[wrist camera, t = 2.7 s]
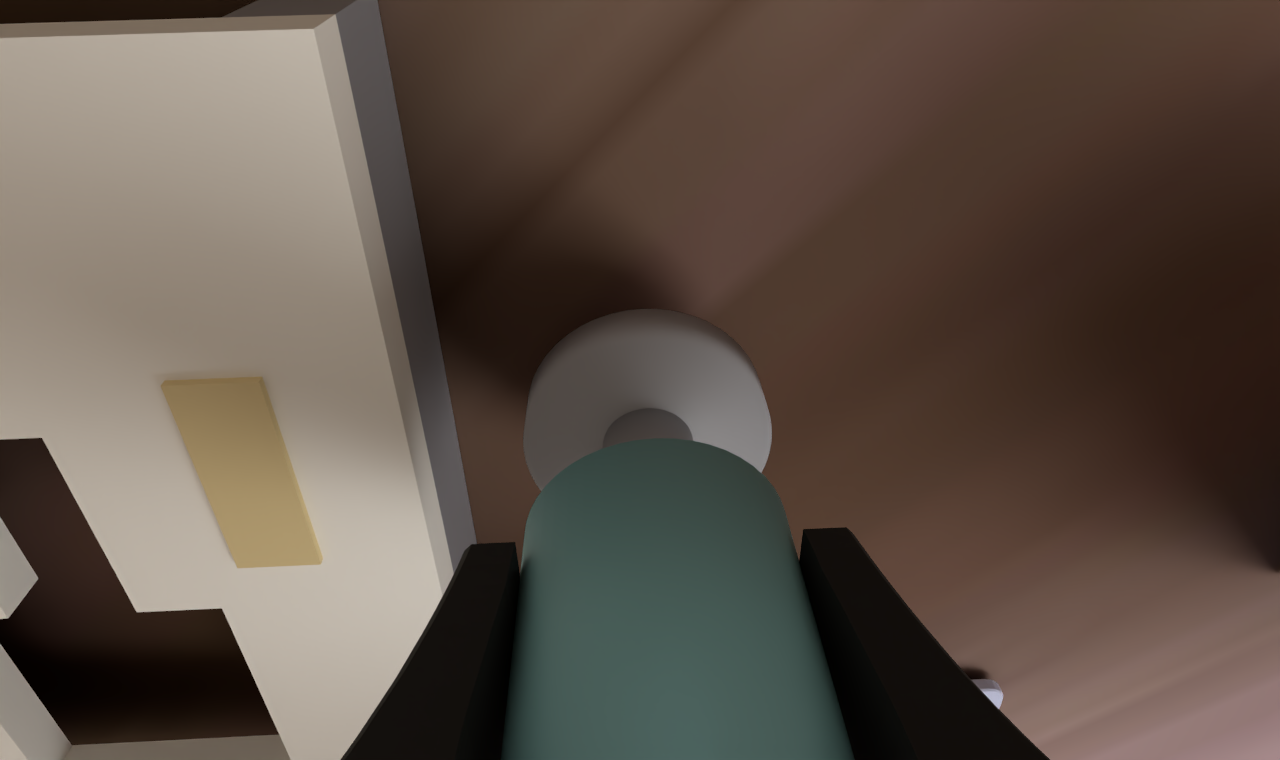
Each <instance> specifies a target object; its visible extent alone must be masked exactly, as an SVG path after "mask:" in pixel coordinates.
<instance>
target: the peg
mask: <svg viewBox="0 0 1280 760" xmlns="http://www.w3.org/2000/svg"><path fill="white" fill-rule="evenodd" d="M771 440H772V426H771V420H770V414H769V411H768V407H767V404H766V401H765V397H764V394H763V391H762V387H761V384H760V381H759V378H758V375H757V372H756V369H755V368H754V366H753V364H752V362H751V360H750V358H749V357H748V355H747V354H746V353H745V351H744V350H743V349H742V347H741V346H740V345H739V344H738V343H737V342H736V341H735V340H734V339H733V338H732V337H730V336H729V335H728V334H726V333H725V332H724V331H722V330H721V329H720V328H718V327H716V326H714V325H712V324H711V323H709V322H707V321H705V320H702V319H700V318H697V317H695V316H692V315H689V314H685V313H681V312H677V311H670V310H663V309H635V310H626V311H621V312H617V313H612V314H609V315H606V316H603V317H600V318H597V319H594V320H592V321H590V322H588V323H586V324H584V325H582V326H580V327H578V328H577V329H575V330H574V331H572V332H571V333H569V334H568V335H566V336H565V337H564V338H563V339H562V340H560V341H559V342H558V343H557V344H556V345H555V346H554V347H553V348H552V349H551V350H550V352H549V353H548V354H547V355H546V356H545V358H544V359H543V361H542V362H541V364H540V365H539V367H538V369H537V371H536V373H535V375H534V377H533V380H532V383H531V386H530V390H529V395H528V403H527V411H526V419H525V427H524V435H523V444H524V454H525V459H526V463H527V466H528V468H529V471H530V474H531V476H532V478H533V479H534V481H535V483H536V484H537V486H538V488H539V489H540V490H541V493H540V494H539V496H538V497H537V498H536V500H535V502H534V504H533V506H532V508H531V510H530V513H529V516H528V519H527V522H526V528H525V535H524V544H523V554H522V563H521V572H520V583H519V592H518V602H517V611H516V620H515V630H514V639H513V648H512V657H511V667H510V676H509V686H508V695H507V705H506V714H505V723H504V733H503V742H502V752H501V760H855V759H854V755H853V752H852V748H851V744H850V741H849V737H848V734H847V730H846V727H845V723H844V720H843V716H842V712H841V709H840V705H839V702H838V698H837V695H836V691H835V688H834V684H833V680H832V677H831V673H830V670H829V666H828V663H827V659H826V656H825V652H824V648H823V645H822V641H821V638H820V634H819V631H818V627H817V624H816V620H815V617H814V613H813V609H812V606H811V602H810V599H809V595H808V592H807V588H806V585H805V581H804V577H803V574H802V570H801V567H800V563H799V560H798V556H797V553H796V549H795V545H794V542H793V538H792V535H791V531H790V528H789V524H788V521H787V517H786V513H785V510H784V507H783V505H782V502H781V499H780V497H779V495H778V494H777V492H776V490H775V488H774V487H773V486H772V484H771V483H770V482H769V481H768V480H767V478H766V477H765V476H764V475H763V474H762V473H761V472H762V470H763V468H764V466H765V464H766V461H767V458H768V455H769V452H770V446H771Z"/></svg>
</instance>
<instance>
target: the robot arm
mask: <svg viewBox="0 0 1280 760" xmlns="http://www.w3.org/2000/svg"><path fill="white" fill-rule="evenodd" d="M799 563H800V567H801V570H802V574H803V577H804V581H805V585H806V588H807V592H808V595H809V599H810V602H811V606H812V609H813V613H814V617H815V620H816V624H817V627H818V631H819V634H820V638H821V641H822V645H823V648H824V652H825V656H826V659H827V663H828V666H829V670H830V673H831V677H832V680H833V684H834V688H835V691H836V695H837V698H838V702H839V705H840V709H841V712H842V716H843V720H844V723H845V727H846V730H847V734H848V737H849V741H850V744H851V748H852V752H853V755H854V759H855V760H1050V759H1049V758H1048V757H1047V756H1046V755H1044V754H1043V753H1042V752H1041V751H1040V750H1039V749H1038V748H1037V747H1036V746H1035V745H1034V744H1033V743H1032V742H1031V741H1030V740H1029V739H1028V738H1027V737H1026V736H1025V735H1024V734H1023V733H1022V732H1021V731H1020V730H1019V729H1018V728H1017V727H1016V726H1015V725H1014V724H1013V723H1012V722H1011V721H1010V720H1009V719H1008V718H1007V717H1006V716H1005V715H1004V714H1003V713H1002V712H1001V711H1000V710H999V708H1000V705H1001V703H1002V700H1003V693H1002V691H1001V689H1000V687H999V685H998V683H997V682H995V681H993V680H990V679H972V680H971V679H970V678H969V677H968V676H967V675H966V674H965V672H964V671H963V670H962V669H961V668H960V667H959V666H958V665H957V664H956V662H955V661H954V660H953V659H952V658H951V657H950V656H949V654H948V653H947V652H946V651H945V650H944V649H943V647H942V646H941V645H940V644H939V643H938V641H937V640H936V639H935V638H934V637H933V636H932V634H931V633H930V632H929V631H928V630H927V629H926V627H925V626H924V625H923V624H922V623H921V622H920V620H919V619H918V618H917V617H916V615H915V614H914V613H913V612H912V611H911V609H910V608H909V607H908V606H907V604H906V603H905V602H904V601H903V599H902V598H901V597H900V595H899V594H898V593H897V592H896V590H895V589H894V588H893V587H892V585H891V584H890V583H889V581H888V580H887V579H886V578H885V576H884V575H883V574H882V572H881V571H880V570H879V568H878V567H877V566H876V564H875V563H874V562H873V560H872V559H871V558H870V556H869V555H868V554H867V552H866V551H865V549H864V548H863V547H862V545H861V544H860V543H859V541H858V540H857V538H856V537H855V536H854V534H853V533H852V532H851V531H850V530H849V529H847V528H846V527H845V528H823V529H803V536H802V544H801V552H800V560H799ZM519 583H520V573H519V567H518V560H517V553H516V546H515V542H509V543H487V544H471V545H470V546H469V547H468V548H467V549H466V550H464V553H463V555H462V557H461V559H460V562H459V564H458V566H457V568H456V570H455V572H454V574H453V577H452V579H451V581H450V583H449V585H448V587H447V589H446V591H445V593H444V595H443V596H442V598H441V600H440V602H439V604H438V606H437V608H436V610H435V611H434V613H433V615H432V617H431V619H430V621H429V622H428V624H427V626H426V628H425V630H424V631H423V633H422V635H421V636H420V638H419V640H418V641H417V643H416V645H415V646H414V648H413V650H412V652H411V653H410V655H409V657H408V658H407V660H406V662H405V663H404V665H403V667H402V668H401V670H400V672H399V673H398V675H397V677H396V678H395V680H394V681H393V683H392V685H391V686H390V688H389V689H388V691H387V692H386V694H385V695H384V697H383V698H382V700H381V701H380V703H379V704H378V706H377V707H376V709H375V710H374V712H373V713H372V715H371V716H370V718H369V719H368V721H367V722H366V724H365V725H364V727H363V728H362V730H361V731H360V733H359V734H358V736H357V737H356V739H355V740H354V741H353V743H352V744H351V746H350V747H349V748H348V750H347V751H346V753H345V754H344V755H343V757H342V758H341V760H501V752H502V742H503V733H504V723H505V714H506V705H507V695H508V686H509V676H510V667H511V657H512V648H513V639H514V630H515V620H516V611H517V602H518V592H519Z"/></svg>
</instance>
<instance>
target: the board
mask: <svg viewBox="0 0 1280 760" xmlns="http://www.w3.org/2000/svg"><path fill="white" fill-rule="evenodd" d="M25 438H42V439H43V441H44V443H45V445H46V446H47V448H48V450H49V452H50V454H51V456H52V457H53V459H54V461H55V463H56V465H57V467H58V469H59V470H60V472H61V474H62V476H63V478H64V480H65V481H66V483H67V485H68V487H69V489H70V491H71V492H72V494H73V496H74V498H75V500H76V502H77V503H78V505H79V507H80V509H81V511H82V513H83V514H84V516H85V518H86V520H87V522H88V524H89V525H90V527H91V529H92V531H93V533H94V535H95V537H96V538H97V540H98V542H99V544H100V546H101V548H102V549H103V551H104V553H105V555H106V557H107V559H108V560H109V562H110V564H111V566H112V568H113V570H114V571H115V573H116V575H117V577H118V579H119V581H120V582H121V584H122V586H123V588H124V590H125V592H126V594H127V595H128V597H129V599H130V601H131V603H132V605H133V606H134V608H135V610H136V612H155V611H176V610H197V609H218V608H222V610H223V612H224V614H225V616H226V619H227V621H228V623H229V625H230V627H231V630H232V632H233V634H234V636H235V638H236V641H237V643H238V645H239V647H240V649H241V652H242V654H243V656H244V658H245V660H246V663H247V665H248V667H249V669H250V671H251V674H252V676H253V678H254V680H255V682H256V685H257V687H258V689H259V691H260V693H261V696H262V698H263V700H264V702H265V704H266V706H267V709H268V711H269V713H270V715H271V717H272V720H273V722H274V724H275V726H276V728H277V731H278V733H279V735H261V736H242V737H223V738H203V739H184V740H165V741H145V742H126V743H107V744H88V745H71V743H70V742H69V740H68V739H67V738H66V736H65V735H64V733H63V732H62V731H61V729H60V728H59V726H58V725H57V723H56V722H55V721H54V719H53V718H52V716H51V715H50V714H49V712H48V711H47V709H46V708H45V706H44V705H43V704H42V702H41V701H40V699H39V698H38V697H37V695H36V694H35V692H34V691H33V689H32V688H31V687H30V685H29V684H28V682H27V681H26V680H25V678H24V677H23V675H22V674H21V672H20V671H19V670H18V668H17V667H16V665H15V664H14V663H13V661H12V660H11V658H10V657H9V655H8V654H7V653H6V651H5V650H4V648H3V647H2V646H1V644H0V760H341V758H342V757H343V755H344V754H345V753H346V751H347V750H348V748H349V747H350V746H351V744H352V743H353V741H354V740H355V739H356V737H357V736H358V734H359V733H360V731H361V730H362V728H363V727H364V725H365V724H366V722H367V721H368V719H369V718H370V716H371V715H372V713H373V712H374V710H375V709H376V707H377V706H378V704H379V703H380V701H381V700H382V698H383V697H384V695H385V694H386V692H387V691H388V689H389V688H390V686H391V685H392V683H393V681H394V680H395V678H396V677H397V675H398V673H399V672H400V670H401V668H402V667H403V665H404V663H405V662H406V660H407V658H408V657H409V655H410V653H411V652H412V650H413V648H414V646H415V645H416V643H417V641H418V640H419V638H420V636H421V635H422V633H423V631H424V630H425V628H426V626H427V624H428V622H429V621H430V619H431V617H432V615H433V613H434V611H435V610H436V608H437V606H438V604H439V602H440V600H441V598H442V596H443V595H444V593H445V591H446V589H447V587H448V585H449V583H450V581H451V579H452V577H453V574H454V572H455V570H456V568H457V566H458V564H459V562H460V559H461V557H462V555H463V553H464V550H466V549H467V548H468V547H469V546H470V545H471V544H477V541H476V536H475V531H474V525H473V520H472V514H471V509H470V503H469V498H468V492H467V487H466V481H465V476H464V471H463V465H462V460H461V454H460V449H459V443H458V438H457V432H456V427H455V421H454V416H453V411H452V405H451V400H450V394H449V389H448V383H447V378H446V372H445V367H444V361H443V356H442V350H441V345H440V340H439V334H438V329H437V323H436V318H435V312H434V307H433V301H432V296H431V290H430V285H429V280H428V274H427V269H426V263H425V258H424V252H423V247H422V241H421V236H420V230H419V225H418V220H417V214H416V209H415V203H414V198H413V192H412V187H411V181H410V176H409V170H408V165H407V160H406V154H405V149H404V143H403V138H402V132H401V127H400V121H399V116H398V110H397V105H396V99H395V94H394V89H393V83H392V78H391V72H390V67H389V61H388V56H387V50H386V45H385V39H384V34H383V29H382V23H381V18H380V12H379V7H378V1H377V0H257V1H255V2H253V3H251V4H249V5H246V6H244V7H242V8H240V9H238V10H236V11H234V12H232V13H229V14H227V15H225V16H223V17H221V18H188V19H154V20H119V21H85V22H50V23H16V24H0V440H1V439H25ZM38 579H39V578H38V577H37V575H36V574H35V572H34V570H33V569H32V567H31V566H30V564H29V562H28V561H27V559H26V558H25V556H24V554H23V553H22V551H21V550H20V548H19V546H18V545H17V543H16V542H15V540H14V538H13V537H12V535H11V533H10V532H9V530H8V529H7V527H6V525H5V524H4V522H3V521H2V519H1V517H0V619H8V618H9V617H10V616H11V614H12V613H13V612H14V610H15V609H16V608H17V606H18V605H19V604H20V602H21V601H22V600H23V598H24V597H25V596H26V594H27V593H28V592H29V590H30V589H31V588H32V587H33V585H34V584H35V583H36V581H37V580H38Z"/></svg>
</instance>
